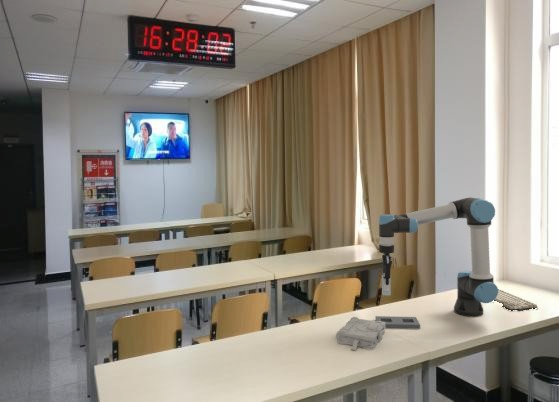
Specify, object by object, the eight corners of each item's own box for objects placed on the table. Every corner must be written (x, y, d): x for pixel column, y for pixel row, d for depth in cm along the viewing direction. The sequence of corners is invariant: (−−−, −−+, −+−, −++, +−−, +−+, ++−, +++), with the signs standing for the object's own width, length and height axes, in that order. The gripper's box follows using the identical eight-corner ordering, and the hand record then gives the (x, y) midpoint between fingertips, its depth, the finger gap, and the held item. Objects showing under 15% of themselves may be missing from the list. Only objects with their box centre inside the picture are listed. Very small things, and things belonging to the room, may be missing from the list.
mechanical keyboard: (472, 294, 287) (472, 289, 287) (499, 292, 290) (499, 287, 290) (511, 313, 250) (511, 307, 250) (542, 310, 253) (542, 305, 253)
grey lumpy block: (331, 347, 206) (331, 331, 206) (350, 328, 231) (350, 313, 231) (373, 355, 198) (373, 338, 197) (387, 334, 223) (387, 319, 222)
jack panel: (415, 321, 238) (415, 316, 237) (420, 329, 226) (420, 324, 226) (375, 320, 240) (375, 316, 240) (377, 328, 228) (377, 323, 228)
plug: (389, 293, 234) (389, 272, 233) (390, 295, 230) (390, 274, 229) (382, 293, 235) (382, 272, 234) (382, 295, 231) (382, 274, 230)
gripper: (377, 241, 239) (377, 285, 241) (380, 247, 223) (380, 293, 224) (391, 241, 239) (391, 285, 240) (396, 247, 222) (396, 294, 223)
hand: (386, 289), depth 232 cm, fingers closed on plug, 4 cm apart
